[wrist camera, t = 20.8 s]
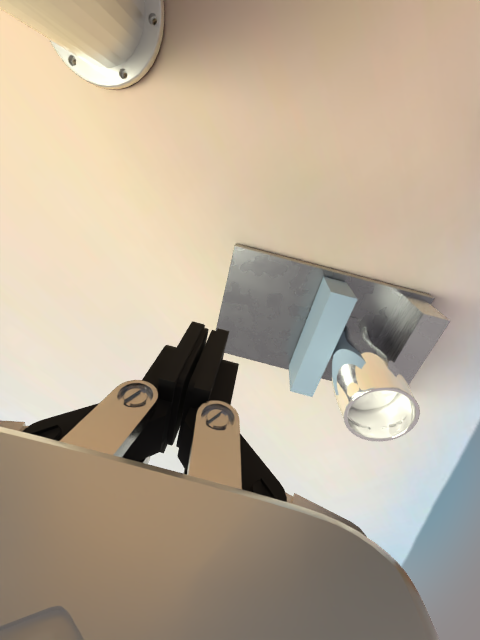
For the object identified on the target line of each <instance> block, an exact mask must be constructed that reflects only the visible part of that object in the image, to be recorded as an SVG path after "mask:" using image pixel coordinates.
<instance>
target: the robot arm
mask: <svg viewBox="0 0 480 640" xmlns="http://www.w3.org/2000/svg"><path fill="white" fill-rule="evenodd" d="M0 9H1V10H3V11H4V12H6V13H8V14H9V15H11V16H13V17H14V18H16V19H17V20H19V21H21V22H22V23H24V24H25V25H27V26H29V27H30V28H32V29H34V30H35V31H37V32H38V33H40V34H42V35H43V36H45V37H47V38H48V39H49V40H50V42H51V44H52V46H53V47H54V49H55V51H56V52H57V54H58V55H59V57H60V58H61V59H62V60H63V62H64V63H65V64H66V65H67V66H68V67H69V68H70V69H71V70H72V71H73V72H74V73H75V74H76V75H78V76H79V77H81V78H82V79H84V80H86V81H87V82H89V83H91V84H93V85H95V86H98V87H102V88H106V89H121V88H125V87H129V86H131V85H132V84H134V83H136V82H138V81H139V80H140V79H141V78H142V77H143V76H144V75H145V74H146V73H147V72H148V70H149V69H150V68H151V66H152V65H153V63H154V61H155V59H156V56H157V54H158V52H159V49H160V45H161V41H162V37H163V29H164V3H163V0H0ZM155 21H157V23H156V24H155V25H154V22H155ZM126 74H127V78H125V76H126ZM204 327H205V325H204V324H200V323H196V322H192V323H191V324H190V326H189V328H188V329H187V331H186V333H185V334H184V336H183V338H182V340H181V341H180V343H179V345H178V346H177V348H176V347H173V346H169V345H166V346H165V347H164V348H163V350H162V351H161V353H160V354H159V356H158V357H157V359H156V360H155V362H154V363H153V364H152V366H151V367H150V369H149V370H148V372H147V373H146V375H145V376H144V378H143V379H142V380H132V381H127V382H124V383H122V384H120V385H119V386H117V387H116V388H115V389H114V390H113V391H112V392H111V393H110V394H109V395H108V396H107V397H106V398H105V399H104V400H102V401H101V402H100V403H98V404H95V405H92V406H88V407H85V408H81V409H78V410H75V411H71V412H68V413H64V414H61V415H58V416H54V417H51V418H47V419H44V420H41V421H38V422H36V423H33V424H32V425H30V426H25V422H14V421H0V640H439V637H438V634H437V632H436V630H435V628H434V625H433V623H432V621H431V618H430V616H429V614H428V611H427V609H426V607H425V605H424V603H423V601H422V599H421V597H420V595H419V593H418V591H417V589H416V588H415V586H414V584H413V582H412V581H411V579H410V578H409V576H408V575H407V573H406V572H405V571H404V569H403V568H402V567H401V566H400V565H399V564H398V563H397V561H396V560H395V559H394V558H392V557H391V556H390V555H389V554H388V553H387V552H386V551H385V550H384V549H382V548H381V547H380V546H379V545H377V544H376V543H375V542H373V541H372V540H370V539H369V538H367V536H366V535H365V534H364V533H363V531H362V530H361V529H360V528H359V527H358V526H356V525H355V524H353V523H352V522H350V521H348V520H346V519H344V518H342V517H340V516H338V515H337V514H335V513H333V512H331V511H329V510H327V509H325V508H323V507H321V506H319V505H317V504H315V503H313V502H311V501H309V500H307V499H305V498H303V497H301V496H299V495H297V494H295V493H294V495H293V496H291V495H289V494H287V493H285V491H284V489H283V487H282V485H281V484H280V482H279V481H278V480H277V479H276V477H275V476H274V475H273V474H272V472H271V471H270V470H269V469H268V468H267V466H266V465H265V464H264V463H263V461H262V460H261V459H260V458H259V456H258V455H257V454H256V453H255V451H254V450H253V449H252V448H251V447H250V445H249V444H248V443H247V442H246V440H245V439H244V438H243V437H242V435H241V434H240V425H239V416H238V413H237V412H236V410H235V409H234V408H233V407H232V406H231V405H230V404H231V399H232V395H233V390H234V385H235V380H236V375H237V370H238V365H239V364H237V363H233V362H230V361H226V360H222V359H223V355H224V351H225V347H226V343H227V339H228V335H229V331H227V330H223V329H219V328H217V331H214V330H212V331H211V333H210V336H209V338H208V340H207V343H206V339H207V335H208V329H206V328H204ZM205 344H206V345H205ZM179 427H180V430H179ZM178 430H179V435H178V440H177V447H179V451H178V458H179V460H180V461H181V463H182V465H183V466H184V473H183V474H182V473H179V472H175V471H171V470H167V469H164V468H160V467H156V466H152V465H148V462H149V460H150V456H152V455H154V454H156V453H158V452H161V453H164V451H165V449H166V446H167V444H168V445H173V443H174V440H175V438H176V435H177V433H178Z"/></svg>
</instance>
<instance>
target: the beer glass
mask: <svg viewBox="0 0 480 640" xmlns="http://www.w3.org/2000/svg"><path fill="white" fill-rule="evenodd" d="M331 357H332V364H331V374H332V385H333V389H334V394H335V397H336V400H337V403H338V406H339V408H340V411H341V413H342V416H343V418H344V422H345V425H346V426H347V428H348V429H349V430H350V431H351V432H352V433H353V434H354V435H356V436H358V437H360V438H362V439H365V440H369V441H388V440H392V439H396V438H398V437H401V436H403V435H404V434H406V433H407V432H409V431H410V430H411V429H412V428H413V427H414V426H415V425H416V423H417V421H418V419H419V415H420V409H419V405H418V403H417V401H416V400H415V398H414V396H413V394H412V392H411V390H410V388H409V386H408V384H407V382H406V380H405V378H404V377H403V375H402V373H401V372H400V370H399V369H398V368H397V366H396V365H395V363H394V362H393V361H392V360H391V359H390V358H389V357H388V356H387V355H386V354H385V353H384V352H383V351H382V350H381V349H380V348H379V347H378V346H376V345H375V344H374V343H373V342H372V340H371V337H370V332H369V329H368V327H367V325H366V324H365V323H364V322H363V321H361V320H359V319H357V318H354V317H349V319H348V321H347V323H346V325H345V327H344V330H343V332H342V334H341V336H340V338H339V340H338V343H337V345H336V347H335V349H334V351H333V353H332V356H331Z"/></svg>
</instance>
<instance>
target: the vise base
mask: <svg viewBox="0 0 480 640" xmlns="http://www.w3.org/2000/svg"><path fill="white" fill-rule="evenodd" d="M323 276H324V277H328V278H332V279H335V280H339V281H343V282H347V284H348V285H349V287H350V288H351V290H352V291H353V293H354V294H355V296H356V297H357V302H356V304H355V306H354V308H353V310H352V312H351V315H350V317H354V318H357V319H359V320H361V321H363V322H364V323H365V324H366V325H367V327H368V329H369V332H370V337H371V340H372V342H373V343H374V344H375V345H376V346H378V347H379V348H380V349H381V350H382V351H383V352H384V353H385V354H386V355H387V356H388V357H389V358H390V359H391V360H392V361H393V362H394V363H395V365H396V366H397V368H398V369H399V370H400V372H401V373H402V375H403V377H404V378H405V380H406V382H407V384H408V385H409V383H410V382H411V380H412V379H413V377H414V376H415V374H416V373H417V371H418V370H419V368H420V367H421V365H422V364H423V362H424V361H425V359H426V358H427V356H428V354H429V353H430V351H431V350H432V348H433V347H434V345H435V344H436V342H437V341H438V339H439V338H440V336H441V335H442V333H443V332H444V330H445V329H446V327H447V326H448V324H449V322H450V320H449V319H448V318H446V317H445V316H444V315H443V314H441V313H440V312H439V311H438V310H436V309H435V308H434V307H433V306H432V305H431V303H432V302H433V300H434V298H433V297H432V296H431V295H429V294H426V293H423V292H419V291H415V290H411V289H407V288H404V287H400V286H396V285H392V284H388V283H385V282H381V281H377V280H373V279H369V278H366V277H362V276H358V275H354V274H350V273H347V272H343V271H339V270H335V269H331V268H328V267H324V266H320V265H316V264H312V263H308V262H305V261H301V260H297V259H293V258H289V257H286V256H282V255H278V254H274V253H270V252H267V251H263V250H259V249H255V248H251V247H248V246H244V245H240V244H236V245H235V247H234V251H233V256H232V260H231V265H230V269H229V274H228V278H227V283H226V287H225V292H224V296H223V301H222V305H221V310H220V314H219V319H218V323H217V328H219V329H223V330H227V331H229V335H228V339H227V343H226V347H225V351H224V353H228V354H231V355H235V356H239V357H243V358H246V359H250V360H254V361H258V362H262V363H265V364H269V365H273V366H277V367H281V368H284V369H288V370H289V364H290V362H291V359H292V357H293V354H294V351H295V349H296V346H297V344H298V341H299V338H300V336H301V333H302V331H303V328H304V325H305V323H306V320H307V318H308V315H309V313H310V310H311V307H312V305H313V302H314V300H315V297H316V294H317V292H318V289H319V287H320V284H321V282H322V279H323ZM217 328H216V331H217ZM331 364H332V357H331V358H330V360H329V362H328V364H327V366H326V368H325V371H324V373H323V375H322V377H321V378H322V379H326V380H330V381H332V374H331Z"/></svg>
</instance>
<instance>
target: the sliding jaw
mask: <svg viewBox="0 0 480 640" xmlns="http://www.w3.org/2000/svg"><path fill="white" fill-rule="evenodd" d="M356 302H357V297H356V296H355V294H354V293H353V291H352V290H351V288H350V287H349V285H348V284H347V282H343V281H339V280H335V279H332V278H328V277H324V276H323V279H322V282H321V284H320V287H319V289H318V292H317V294H316V297H315V300H314V302H313V305H312V307H311V310H310V313H309V315H308V318H307V320H306V323H305V325H304V328H303V331H302V333H301V336H300V338H299V341H298V344H297V346H296V349H295V351H294V354H293V357H292V359H291V362H290V364H289V378H290V391H292V392H296V393H300V394H303V395H307V396H311V397H312V396H313V394H314V392H315V390H316V388H317V386H318V384H319V381H320V379H321V377H322V375H323V373H324V371H325V368H326V366H327V364H328V362H329V360H330V358H331V356H332V353H333V351H334V349H335V347H336V345H337V343H338V340H339V338H340V336H341V334H342V332H343V330H344V327H345V325H346V323H347V321H348V319H349V317H350V315H351V312H352V310H353V308H354V306H355V304H356Z"/></svg>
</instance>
